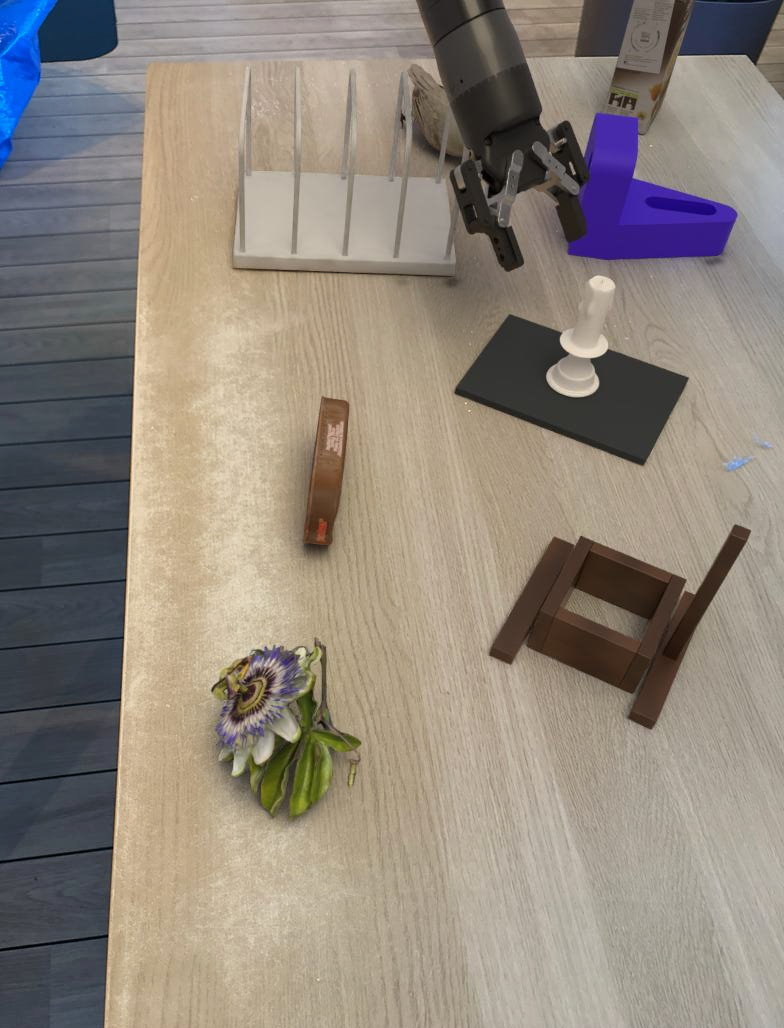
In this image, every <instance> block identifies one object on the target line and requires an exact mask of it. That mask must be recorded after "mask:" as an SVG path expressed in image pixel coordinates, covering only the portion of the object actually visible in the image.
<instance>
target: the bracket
mask: <svg viewBox="0 0 784 1028" xmlns="http://www.w3.org/2000/svg"><path fill="white" fill-rule="evenodd" d="M638 155H639V133H638V118H636V117H628V116H620V115H612V114H604V113H603V112H596V113H595V114H594V118H593V121H592V124H591V129H590V132H589V135H588V139H587V143H586V148H585V152H584V155H583V157H584V160H585V163H586V165H587V168H588V170H589V173H590V180H589V182H587V183H585V184H584V185H583V186H582V187H581V189H580V191H579V193H578V198H579V201H580V204H581V207H582V210H583V213H584V217H585V219H586V222H587V228H586V229H587V234H586V236H584V237H582V238H580V239H578V240H575V241H573V242H568V247H567V255H571V256H578V257H586V258H593V259H600V260H606V261H608V260H609V261H610V260H634V259H635V260H636V259H638V260H639V259H665V258H667V259H668V258H691V257H715V256H719V255H721V254H722V253H723V252H724V250H725V247H726V244H727V243H728V241H729V238H730V236H731V234H732V231H733V229H734V226H735V224H736V221H737V219H738V215H739V214H738V211H736V210H735V208H733V207H732V206H730V205H727V204H724V203H721V202H717V201H714V200H710V199H707V198H704V197H700V196H697V195H694V194H690V193H686V192H683V191H679V190H676V189H673V188H669V187H665V186H661V185H658V184H655V183H651V182H648V181H644V180H641V179H638V178H635V177H634V174H635V170H636V167H637V161H638Z"/></svg>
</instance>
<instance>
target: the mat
mask: <svg viewBox="0 0 784 1028" xmlns="http://www.w3.org/2000/svg"><path fill="white" fill-rule="evenodd" d="M562 333H563V332H562V331H560V330H557V329H553V328H551V327H547V326H545V325H542V324H539V323H536V322H534V321H531V320H529V319H527V318H523V317H520V316H517V315H514V314H511V313H509V314H508V315H507V317H506V318H505V319H504V321H503V322H502V323H501V324H500V326H499V327H498V329H497V330H496V331H495V333H494V334H493V335H492V337H491V338H490V340H489V341H488V343H487V344H486V345H485V346H484V348H483V349H482V350H481V352H480V353H479V355H478V356H477V358H476V359H475V360H474V362H473V363H472V365H471V366H470V367H469V369H468V370H467V371H466V373H465V374H464V375H463V377H462V378H461V379H460V381H458V384H457V385H456V386H455V389H454V394H456V395H458V396H461V397H463V398H466V399H469V400H471V401H473V402H476V403H479V404H482V405H484V406H487V407H490V408H492V409H495V410H497V411H500V412H502V413H505V414H507V415H510V416H513V417H515V418H518V419H521V420H524V421H526V422H528V423H531V424H534V425H537V426H539V427H541V428H544V429H547V430H549V431H551V432H554V433H557V434H560V435H562V436H564V437H568V438H570V439H573V440H575V441H578V442H580V443H583V444H586V445H589V446H591V447H593V448H596V449H599V450H601V451H604V452H606V453H608V454H611V455H614V456H617V457H620V458H622V459H624V460H627V461H630V462H632V463H635V464H637V465H640V466H645V464H646V462H647V460H648V458H649V456H650V454H651V452H653V449H654V447H655V445H656V443H657V441H658V439H659V437H660V435H661V434H662V431H664V428H665V426H666V424H667V422H668V420H669V418H670V416H671V414H672V412H673V411H674V409H675V407H676V405H677V403H678V402H679V399H680V397H681V396H682V393H683V391H684V390H685V388H686V386H687V384H688V382H689V379H690V377H688V376H686V375H683V374H681V373H677V372H675V371H672V370H669V369H666V368H663V367H660V366H659V365H655V364H653V363H650V362H646V361H644V360H642V359H638V358H635V357H632V356H629V355H627V354H624V353H621V352H619V351H615V350H612V349H610V348H608V349H607V351H606V352H605V353H604V354H603V355H601V356H599V357H596V358H590V361H591V364H592V365H593V366H594V369H595V373H596V375H597V376H598V379H599V387H598V389H597V390H596V391H595V392H594V393H593V394H591V395H589V396H586V397H568V396H565V395H562V394H560V393H558V392H556V391H555V390H553V389H552V388H551V387H550V385H549V384H548V382H547V379H546V374H547V371H548V370H549V369H550V368H551V367H552V366H553V365H555V364H557V363H558V362H559V361H560V360H561V359H563V358H565V357H567V356H568V355H569V354H570V353H568V352H567V351H566V350H565V349H564V348H563V347H562V346H561V343H560V336H561V334H562Z"/></svg>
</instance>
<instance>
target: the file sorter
mask: <svg viewBox="0 0 784 1028" xmlns="http://www.w3.org/2000/svg"><path fill="white" fill-rule="evenodd" d="M356 75H357V74H356V69H355V68H350V70H349V73H348V85H347V97H346V98H347V99H346V110H345V123H344V139H343V149H342V151H343V152H342V164H341V165H342V166H341V173H329V172H327V173H326V172H304V171H301V167H302V166H301V165H302V142H303V141H302V140H303V139H302V138H303V137H302V135H303V134H302V133H303V132H302V131H303V127H302V126H303V125H302V124H303V123H302V120H303V119H302V118H303V117H302V115H303V113H302V81H301V80H302V79H301V77H302V76H301V67H300V66H295V68H294V104H293V105H294V107H293V108H294V110H293V112H294V113H293V115H294V116H293V118H294V119H293V123H294V124H293V127H294V128H293V171H278V170H277V171H276V170H275V171H274V170H252V67H251V66H245V68H244V77H243V85H242V95H241V106H240V116H239V129H238V195H237V196H238V197H237V207H236V218H235V219H236V220H235V227H234V228H235V229H234V238H233V239H234V240H233V249H232V250H233V251H232V252H233V253H232V266H233V268H235V269H257V270H258V269H259V270H283V271H284V270H286V271H310V272H332V273H333V272H335V273H337V272H338V273H361V274H392V275H416V276H417V275H418V276H419V275H420V276H447V277H451V276H452V277H453V276H455V274H456V267H457V258H456V248H455V240H454V239H455V233H456V227H457V224H458V218H459V212H460V208H459V205H458V202H457V199H456V196H454V197H455V199H454V204H453V209H452V215H451V209H450V201H449V200H450V199H449V193H448V185H447V179H446V178H444V177H442V176H443V170H444V164H445V157H446V153H445V152H446V146H447V140H448V134H449V128H450V122H451V116H452V109H451V107H450V104H449V102H448V108H447V114H446V120H445V127H444V133H443V139H442V145H441V151H439V159H438V166H437V170H436V171H437V172H436V177H422V176H420V177H418V176H409V172H410V164H411V155H412V147H413V146H412V145H413V144H412V143H413V119H412V116H411V111H412V106H411V98H410V97H411V96H410V87H409V86H410V85H409V74H408V72H407V70H406V71H405V70H402V71H401V74H400V77H399V78H400V79H399V85H398V93H397V103H396V111H395V120H394V127H393V128H394V129H393V139H392V146H391V155H390V164H389V174H388V175H380V174H379V175H377V174H376V175H375V174H374V175H373V174H356V172H355V171H356V159H357V147H358V101H357V99H358V98H357V97H358V95H357V76H356ZM403 104H404V105H403ZM403 106H404V116H405V119H406V121H405V149H404V151H405V152H404V160H403V169H402V176H398V175H397V176H396V175H395V168H396V159H397V151H398V143H399V135H400V126H401V122H400V119H401V110H402V111H403ZM350 132H351V138H350ZM245 135H246V136H245ZM245 138H246V139H245ZM245 141H246V142H245ZM349 144H350V153H349ZM245 145H246V147H245ZM245 148H246V149H245ZM245 151H246V152H245ZM469 152H470V150H468V149H467V148H466V147H465V145H464V151H463V156H462V159H461V164H462V163H464V162H466V161H467V160H468V159H469ZM245 154H246V155H245ZM245 156H246V157H245ZM348 157H349V167H348ZM245 158H246V160H245ZM245 161H246V163H245ZM245 164H246V165H245ZM245 166H246V169H245ZM347 168H348V173H347Z"/></svg>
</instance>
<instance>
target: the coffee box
mask: <svg viewBox="0 0 784 1028" xmlns="http://www.w3.org/2000/svg"><path fill="white" fill-rule="evenodd" d="M695 2H696V0H633V2H632V4H631V9H630V12H629V15H628V16H629V17H628V21H627V24H626V28H625V30H624V35H623V38H622V42H621V46H620V50H619V52H618V57H617V60H616V64H615V68H614V71H613V75H612V79H611V82H610V86H609V90H608V94H607V97H606V100H605V104H604V109H603V111H602V113H604V114H612V115H620V116H628V117H636V118H638V135H645V134H646V133H647V131H648V129H650V126H651V125H652V123H653V122H654V120H655V118H656V116H657V114H658V113H659V112H660V110H661V108H662V106H663V103H664V101H665V97H666V94H667V91H668V89H669V85H670V82H671V79H672V76H673V72H674V70H675V66H676V62H677V59H678V57H679V53H680V50H681V47H682V43H683V40H684V38H685V34H686V31H687V27H688V24H689V22H690V18H691V15H692V12H693V8H694V5H695Z"/></svg>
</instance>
